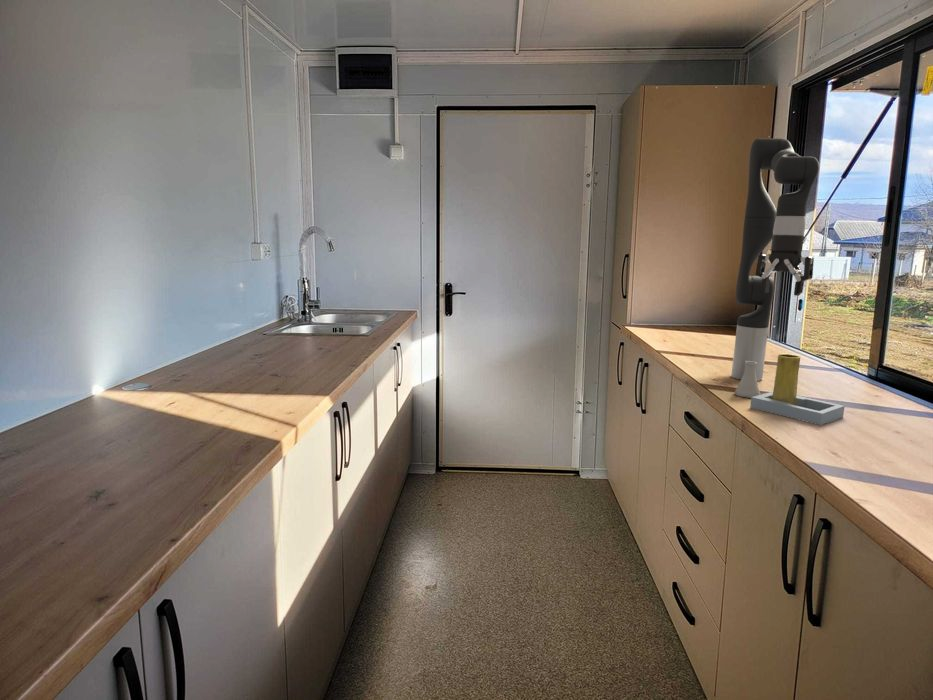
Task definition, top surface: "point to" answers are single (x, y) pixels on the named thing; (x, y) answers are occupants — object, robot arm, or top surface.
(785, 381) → the vase
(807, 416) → the keyhole board
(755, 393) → the flask
